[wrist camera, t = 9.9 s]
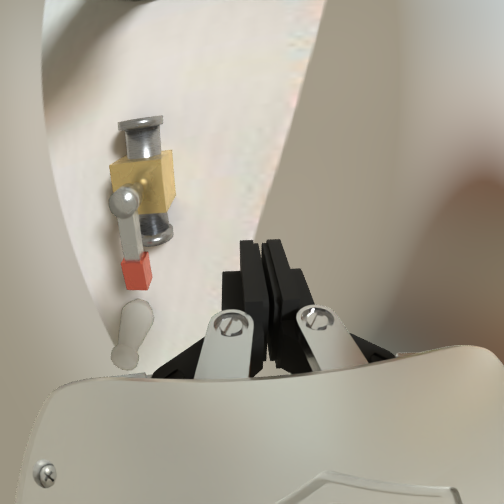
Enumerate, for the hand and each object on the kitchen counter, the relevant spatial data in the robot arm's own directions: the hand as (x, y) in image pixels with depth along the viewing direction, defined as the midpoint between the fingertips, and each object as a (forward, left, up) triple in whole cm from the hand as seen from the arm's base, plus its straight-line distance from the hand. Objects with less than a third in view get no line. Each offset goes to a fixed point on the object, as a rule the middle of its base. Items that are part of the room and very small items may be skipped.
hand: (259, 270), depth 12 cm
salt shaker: (+25, -18, -27) cm, 41 cm away
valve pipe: (+2, -12, -27) cm, 30 cm away
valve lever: (+6, -12, -18) cm, 23 cm away
